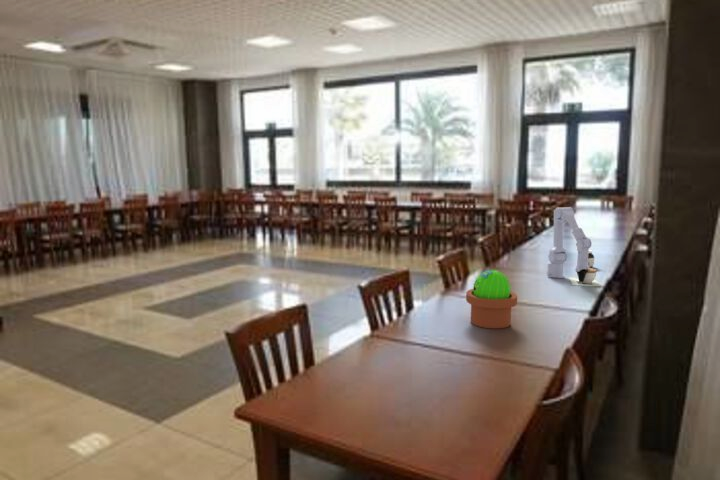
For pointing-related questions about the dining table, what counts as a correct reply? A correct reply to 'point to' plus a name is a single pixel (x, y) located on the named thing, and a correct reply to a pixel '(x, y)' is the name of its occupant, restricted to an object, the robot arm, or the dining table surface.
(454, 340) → the dining table surface
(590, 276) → the lidded jar
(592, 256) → the spread jar
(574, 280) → the placemat
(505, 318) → the potted cactus
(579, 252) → the robot arm
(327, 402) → the dining table surface
